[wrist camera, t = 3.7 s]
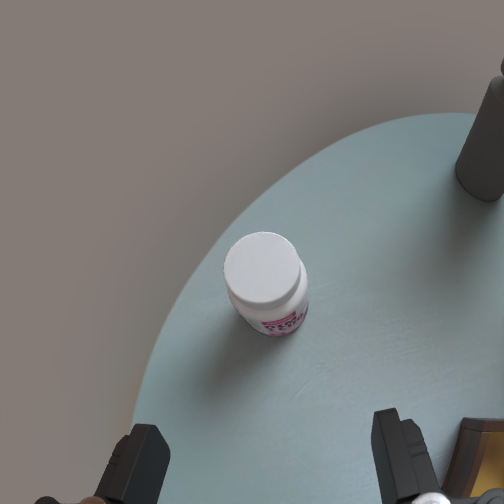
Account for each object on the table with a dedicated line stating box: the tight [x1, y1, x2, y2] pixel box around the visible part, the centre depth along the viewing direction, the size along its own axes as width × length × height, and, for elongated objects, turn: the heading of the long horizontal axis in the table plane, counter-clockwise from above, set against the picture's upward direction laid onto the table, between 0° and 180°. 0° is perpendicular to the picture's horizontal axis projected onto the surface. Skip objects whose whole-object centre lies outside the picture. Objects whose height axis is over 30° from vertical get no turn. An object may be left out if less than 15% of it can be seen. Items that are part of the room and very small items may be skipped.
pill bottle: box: [223, 232, 308, 336], centre depth 20 cm, size 5×5×8 cm
